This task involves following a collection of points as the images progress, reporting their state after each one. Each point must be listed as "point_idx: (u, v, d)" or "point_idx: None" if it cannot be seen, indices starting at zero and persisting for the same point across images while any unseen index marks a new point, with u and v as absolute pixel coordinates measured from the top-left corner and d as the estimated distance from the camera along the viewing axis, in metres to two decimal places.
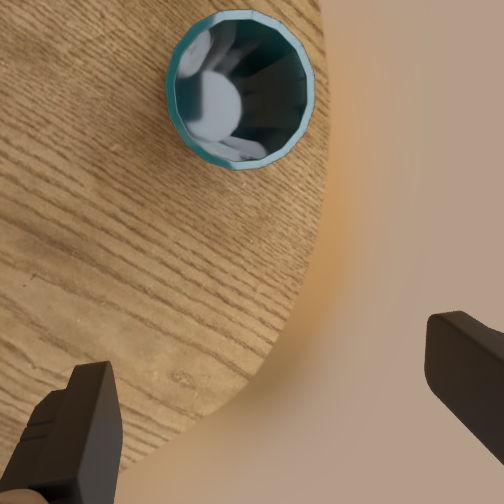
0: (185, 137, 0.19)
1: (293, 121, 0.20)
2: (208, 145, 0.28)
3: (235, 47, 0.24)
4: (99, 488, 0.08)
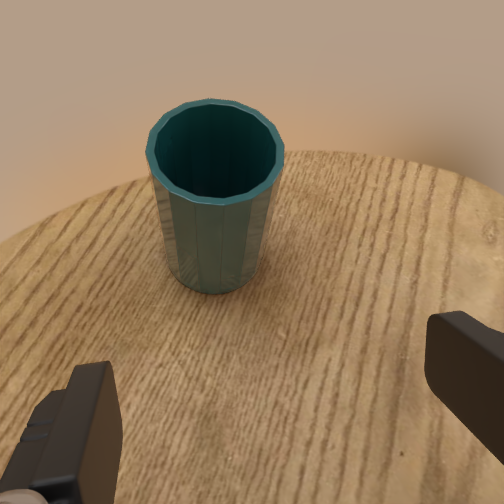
0: (268, 183, 0.20)
1: (225, 122, 0.23)
2: None
3: None
4: (99, 488, 0.08)
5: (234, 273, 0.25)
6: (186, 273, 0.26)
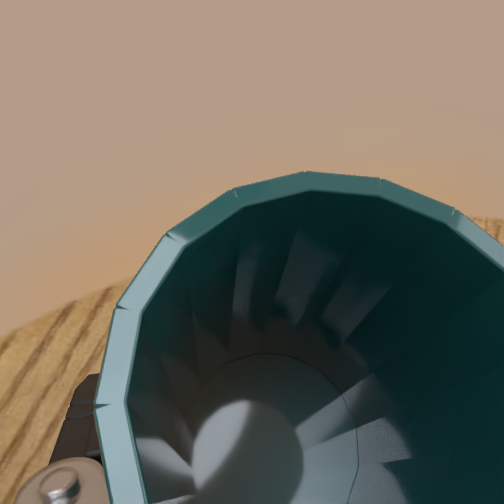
0: None
1: (341, 232, 0.08)
2: (353, 442, 0.14)
3: (172, 436, 0.11)
4: None
5: None
6: None
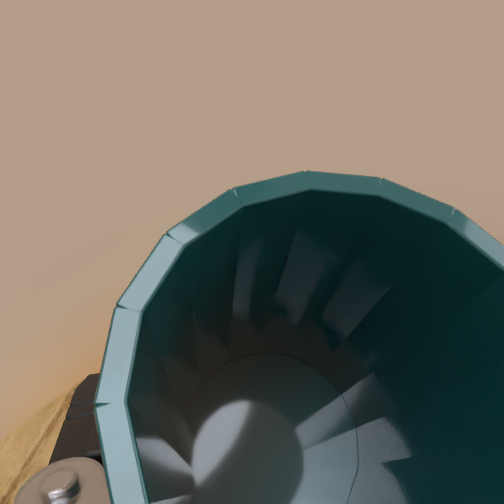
0: None
1: (341, 231, 0.08)
2: (353, 442, 0.14)
3: (172, 435, 0.11)
4: None
5: None
6: None
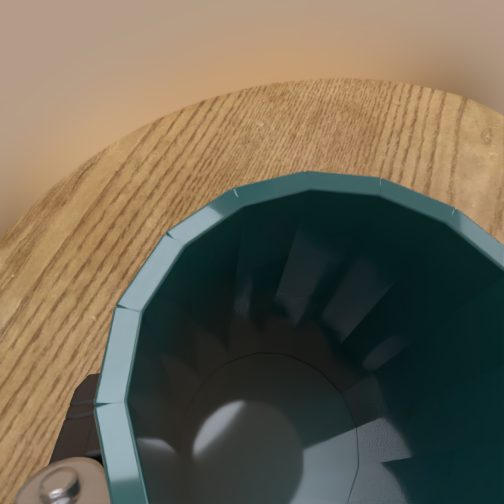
0: None
1: (341, 231, 0.08)
2: (354, 442, 0.14)
3: (172, 435, 0.11)
4: None
5: None
6: None
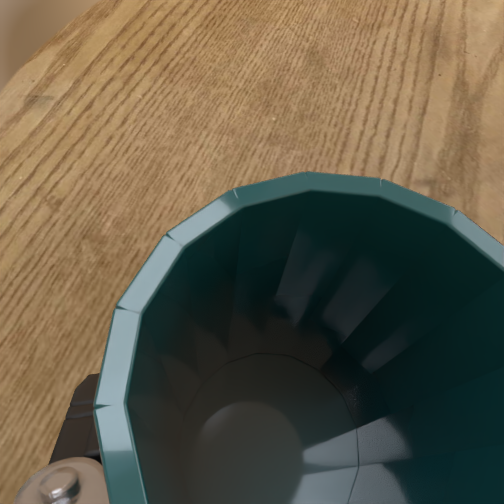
0: None
1: (341, 232, 0.08)
2: (354, 443, 0.14)
3: (172, 436, 0.11)
4: None
5: None
6: None
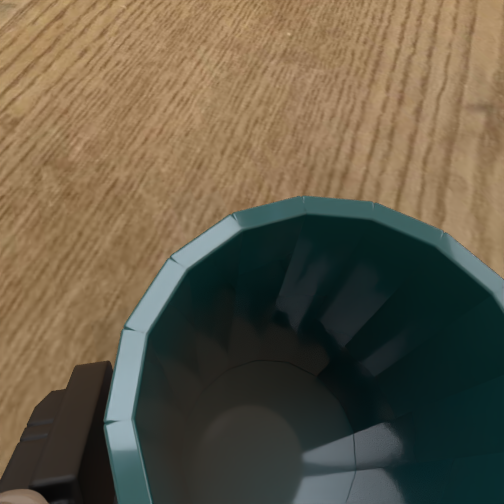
0: None
1: (336, 251, 0.08)
2: (351, 447, 0.14)
3: (174, 443, 0.11)
4: (99, 488, 0.08)
5: None
6: None
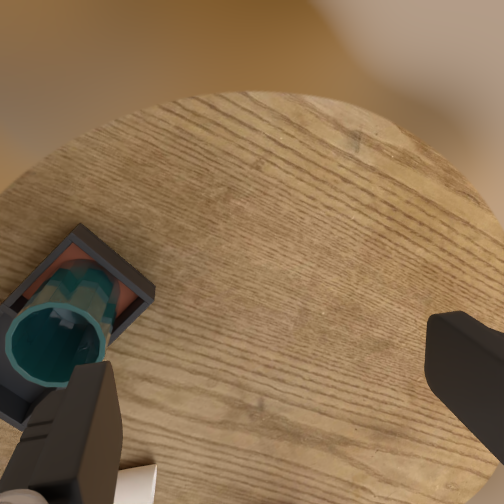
0: (27, 377, 0.30)
1: None
2: (82, 322, 0.39)
3: None
4: (99, 488, 0.08)
5: None
6: None
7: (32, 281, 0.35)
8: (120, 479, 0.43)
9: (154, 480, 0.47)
